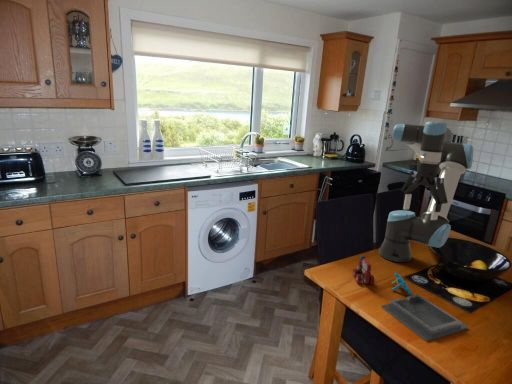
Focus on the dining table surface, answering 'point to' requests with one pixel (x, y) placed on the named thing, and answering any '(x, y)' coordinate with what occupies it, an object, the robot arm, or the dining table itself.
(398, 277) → the blue toy figure
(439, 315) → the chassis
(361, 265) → the dark red figurine
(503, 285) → the dining table surface
